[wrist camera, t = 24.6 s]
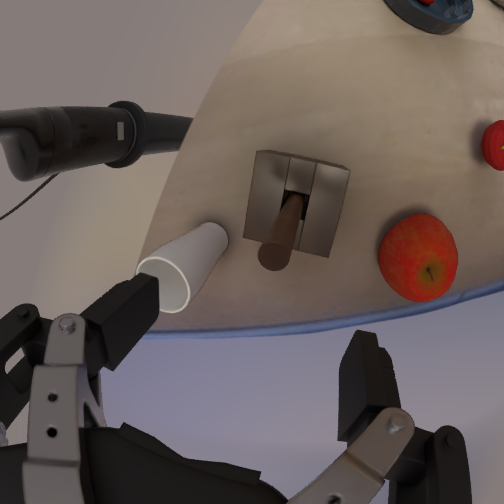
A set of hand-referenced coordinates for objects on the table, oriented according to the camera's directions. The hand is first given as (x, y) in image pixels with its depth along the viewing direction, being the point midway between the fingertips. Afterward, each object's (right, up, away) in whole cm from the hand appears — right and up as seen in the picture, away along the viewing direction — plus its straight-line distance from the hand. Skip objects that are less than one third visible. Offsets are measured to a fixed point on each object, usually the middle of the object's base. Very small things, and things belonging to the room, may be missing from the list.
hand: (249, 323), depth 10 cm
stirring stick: (+6, +11, +25) cm, 28 cm away
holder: (+6, +10, +25) cm, 28 cm away
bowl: (+24, +39, +9) cm, 46 cm away
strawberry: (+33, +18, +15) cm, 40 cm away
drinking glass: (-6, +5, +30) cm, 31 cm away
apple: (+22, +4, +24) cm, 33 cm away
